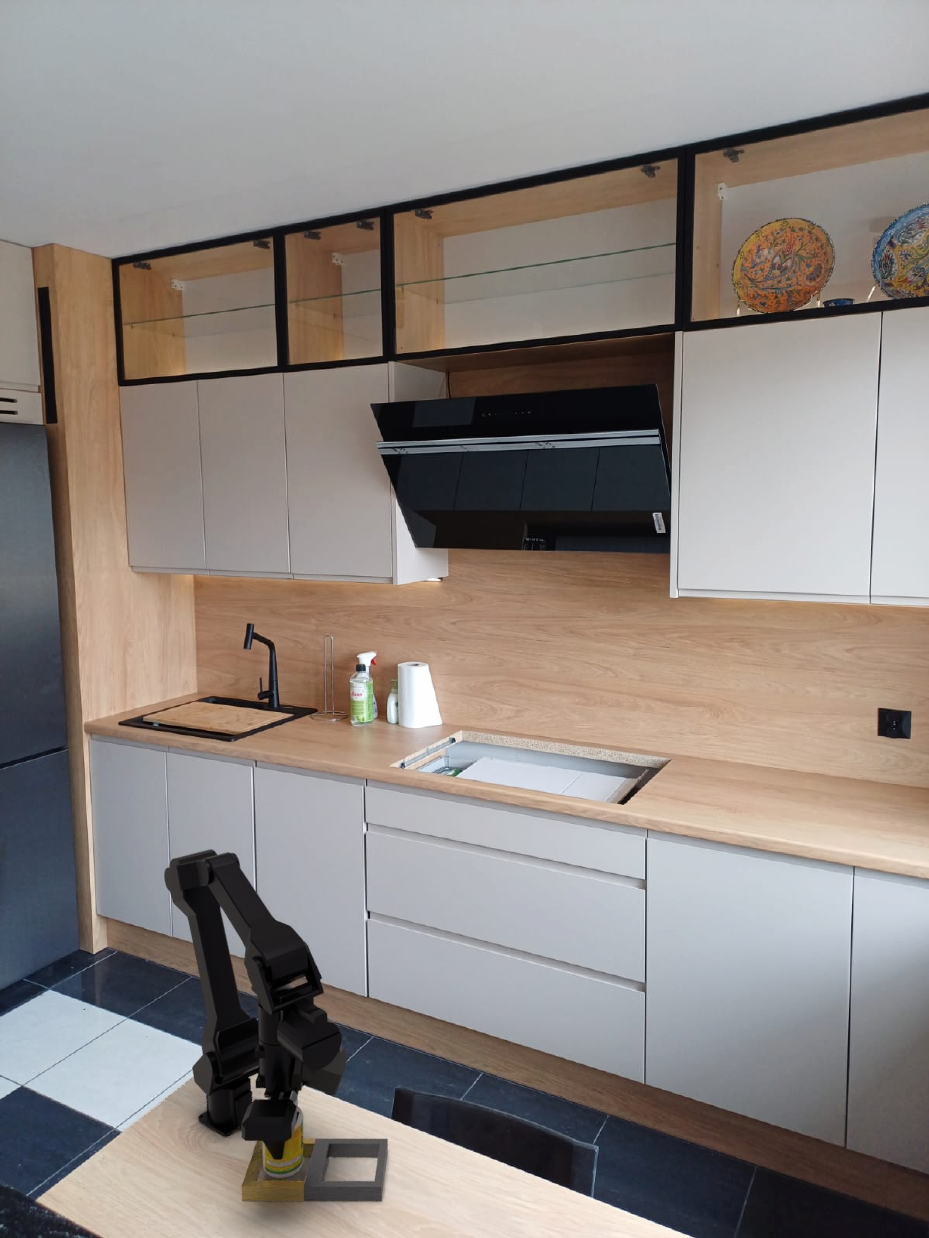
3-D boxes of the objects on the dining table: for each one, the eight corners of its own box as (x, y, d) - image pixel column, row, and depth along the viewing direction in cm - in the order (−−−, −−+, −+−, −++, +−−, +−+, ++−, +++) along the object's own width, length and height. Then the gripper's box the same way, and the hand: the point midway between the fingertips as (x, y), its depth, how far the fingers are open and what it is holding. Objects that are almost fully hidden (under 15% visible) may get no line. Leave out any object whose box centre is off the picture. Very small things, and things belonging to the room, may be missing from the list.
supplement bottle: (258, 1159, 118) (256, 1092, 117) (296, 1145, 121) (295, 1080, 120) (269, 1185, 114) (268, 1115, 113) (309, 1170, 116) (308, 1102, 115)
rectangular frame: (241, 1200, 113) (241, 1186, 113) (258, 1151, 122) (257, 1138, 122) (381, 1201, 113) (381, 1186, 113) (387, 1151, 122) (387, 1138, 122)
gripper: (330, 1077, 106) (332, 1197, 108) (351, 995, 125) (352, 1099, 126) (238, 1076, 106) (241, 1196, 108) (272, 995, 125) (274, 1098, 126)
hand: (282, 1143), depth 117 cm, fingers closed on supplement bottle, 5 cm apart
